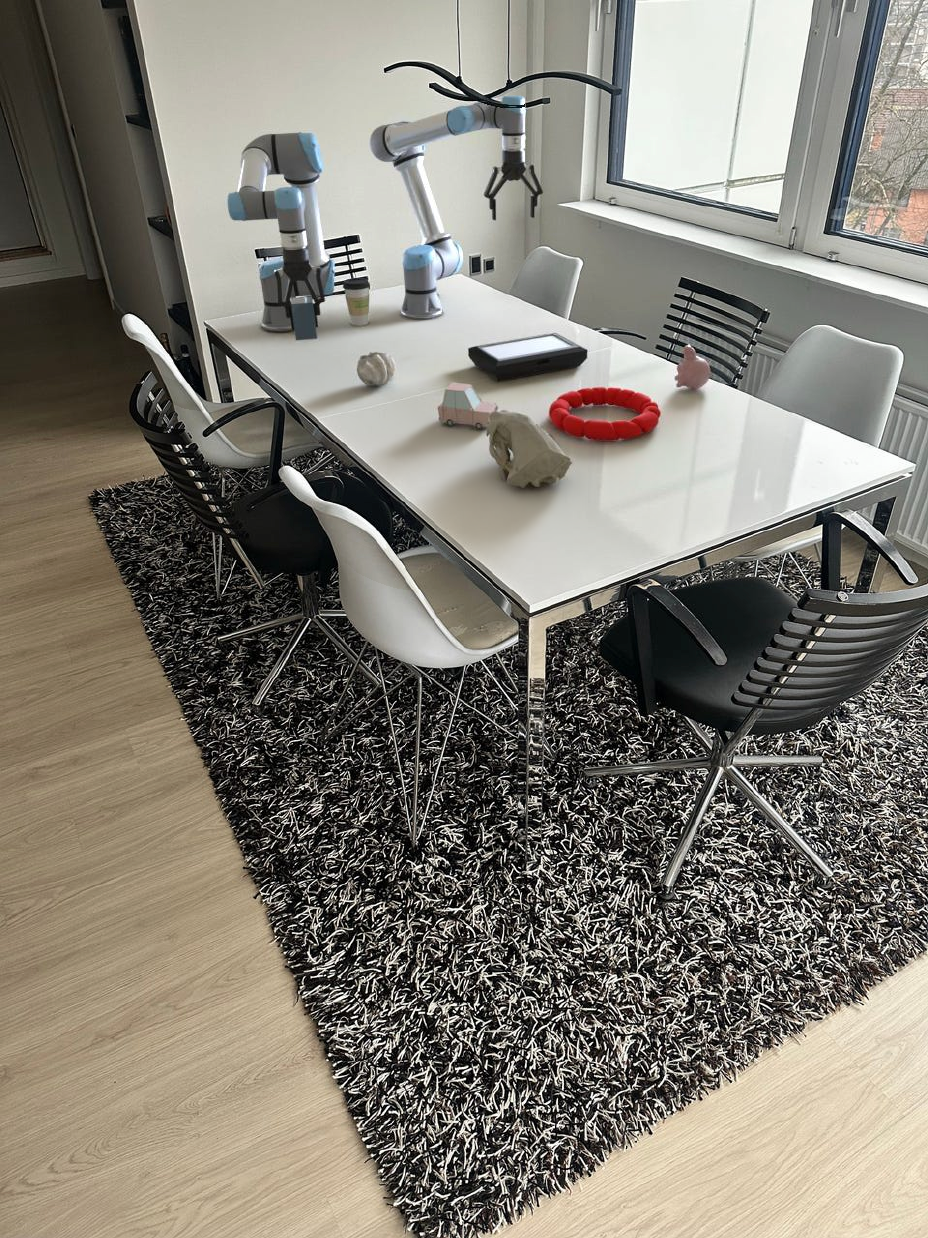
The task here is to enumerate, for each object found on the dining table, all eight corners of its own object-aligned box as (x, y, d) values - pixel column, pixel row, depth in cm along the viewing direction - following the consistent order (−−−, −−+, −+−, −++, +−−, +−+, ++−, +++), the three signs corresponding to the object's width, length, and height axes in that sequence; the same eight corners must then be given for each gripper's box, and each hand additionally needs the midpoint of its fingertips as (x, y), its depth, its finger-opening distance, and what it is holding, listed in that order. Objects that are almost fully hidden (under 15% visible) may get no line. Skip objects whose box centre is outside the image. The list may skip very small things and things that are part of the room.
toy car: (488, 432, 240) (488, 396, 234) (436, 426, 244) (434, 390, 239) (499, 419, 247) (499, 384, 241) (448, 413, 252) (447, 379, 246)
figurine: (665, 387, 264) (669, 347, 257) (693, 380, 268) (698, 340, 261) (686, 396, 257) (690, 355, 250) (714, 388, 262) (720, 348, 255)
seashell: (349, 384, 274) (346, 352, 268) (393, 375, 279) (391, 343, 274) (362, 394, 266) (359, 361, 260) (407, 384, 272) (405, 352, 266)
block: (295, 333, 274) (290, 297, 268) (316, 332, 275) (311, 296, 269) (295, 340, 269) (290, 304, 263) (317, 338, 270) (312, 302, 264)
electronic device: (495, 363, 267) (468, 345, 282) (495, 383, 270) (468, 364, 285) (587, 347, 277) (556, 330, 292) (586, 366, 281) (555, 349, 296)
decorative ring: (589, 435, 224) (684, 402, 234) (527, 398, 247) (617, 369, 256) (589, 461, 229) (683, 427, 238) (529, 422, 251) (617, 393, 260)
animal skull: (496, 517, 219) (521, 479, 201) (463, 429, 225) (484, 384, 207) (557, 503, 225) (586, 465, 206) (523, 417, 231) (549, 373, 212)
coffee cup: (372, 326, 323) (368, 283, 314) (345, 327, 323) (340, 284, 315) (374, 318, 331) (371, 276, 322) (348, 319, 331) (344, 277, 323)
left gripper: (260, 252, 253) (272, 333, 266) (329, 247, 255) (337, 328, 269) (260, 246, 259) (272, 326, 272) (327, 241, 261) (336, 320, 275)
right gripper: (478, 152, 291) (480, 222, 304) (552, 148, 295) (551, 217, 307) (474, 149, 298) (475, 218, 310) (546, 145, 301) (545, 213, 313)
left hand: (304, 326), depth 270 cm, fingers closed on block, 6 cm apart
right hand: (513, 218), depth 308 cm, fingers open, 13 cm apart
